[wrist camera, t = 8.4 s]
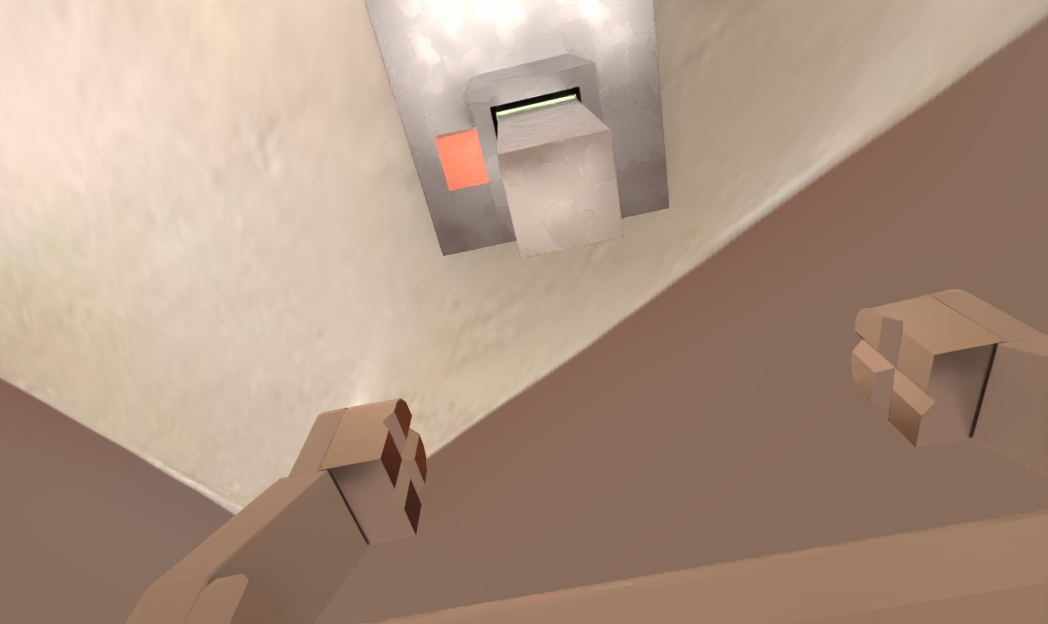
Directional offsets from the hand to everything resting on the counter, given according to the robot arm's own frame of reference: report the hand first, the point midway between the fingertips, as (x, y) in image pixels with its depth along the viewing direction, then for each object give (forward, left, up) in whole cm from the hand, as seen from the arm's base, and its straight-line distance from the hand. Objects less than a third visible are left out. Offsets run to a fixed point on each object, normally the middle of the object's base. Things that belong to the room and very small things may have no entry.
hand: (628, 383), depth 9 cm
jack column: (0, 0, -30) cm, 30 cm away
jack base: (0, 0, -37) cm, 37 cm away
